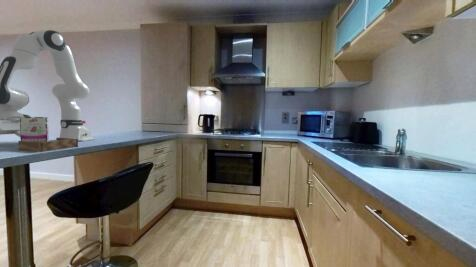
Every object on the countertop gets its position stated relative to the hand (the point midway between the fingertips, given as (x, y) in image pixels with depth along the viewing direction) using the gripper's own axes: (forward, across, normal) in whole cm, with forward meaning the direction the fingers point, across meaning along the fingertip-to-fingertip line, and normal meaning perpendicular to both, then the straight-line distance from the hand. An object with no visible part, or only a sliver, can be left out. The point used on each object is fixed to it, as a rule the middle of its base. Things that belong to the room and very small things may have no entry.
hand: (25, 138), depth 129 cm
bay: (+14, 0, -7) cm, 16 cm away
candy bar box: (+7, 0, -1) cm, 7 cm away
